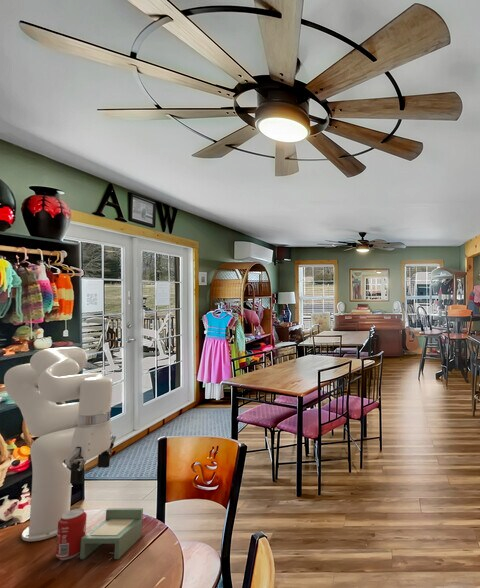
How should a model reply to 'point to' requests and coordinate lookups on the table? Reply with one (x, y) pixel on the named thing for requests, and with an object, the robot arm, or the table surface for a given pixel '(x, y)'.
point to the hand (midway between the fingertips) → (90, 474)
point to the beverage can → (70, 533)
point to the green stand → (114, 531)
